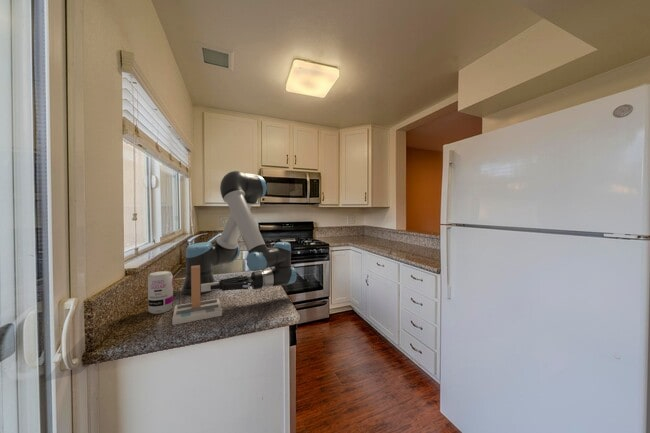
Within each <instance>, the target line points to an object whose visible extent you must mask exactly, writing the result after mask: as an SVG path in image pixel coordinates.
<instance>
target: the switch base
mask: <svg viewBox="0 0 650 433" xmlns="http://www.w3.org/2000/svg"><path fill="white" fill-rule="evenodd" d="M173 309H174V310H173V315H172V321H171V322H172V323H171V325H172V326H174V325H180V324H185V323H190V322H195V321H196V322H197V321H201V320H207V319H210V318H216V317H221V316H223V309H222V305H221V302H220V299H219V298H213V299H206V300H200V307H198V308H193V309H192V303H191V302H188V303H187V302H186V303H182V304H176V305H175V306H174V308H173Z"/></svg>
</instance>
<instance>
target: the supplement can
mask: <svg viewBox="0 0 650 433" xmlns="http://www.w3.org/2000/svg"><path fill="white" fill-rule="evenodd" d="M173 280H174V276H173V274H172V272H171V271H170V270H160V271H155V272H151V273H149V276H148V278H147V303H148V304H147V306H148V308H147V311H148V312H149V313H150V314H153V315H159V314H163V313H167V312H168V311H171V310H172V308H174V281H173Z"/></svg>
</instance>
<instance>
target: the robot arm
mask: <svg viewBox="0 0 650 433" xmlns="http://www.w3.org/2000/svg"><path fill="white" fill-rule="evenodd" d="M267 189H268V185H267V183H266V180H265V179H264V178H263V176H261V175H260V174H259V175H258V174H256V173H249V172H243V171H238V170H234V171H230V172H227V173H226V174H225V175H224V176H223V178H222V179H221V181H220V186H219V190H220V195H221V198H222V201H223V202H224V203H226V204H227V206H228V208H229V211H230V213H229V215H228V218H227V221H226V223H225V225H224V228H223V230H222V233H221V234H220V236H218V237H217V238H216V239H215V242H214V243H212V242H210V241H203V242H197V243H193V244H190V245H188V246H187V247H186V248H185V278H184V281H183V283H182V287H181V293H182V294H184V295H188V296H189V295H190V296H191V266H196V265H200V295H202V294H207V293H210V292H214V291H216V290H217V291H219V290H221V291H222V292H224V291H235V290H238V291H239V290H248V289H249V288H250V287H251V288H252V289H253V290H254V291H255V290H260V289H262V288H263V289H270V288H271V287H272V288H273V287H279V286H288V285H291V284H295V282H296V281H297V270H296V268H295V267H294V266H292V246H291V245H292V244H291V243H290V242H287V241H281V242H280V241H278V242H276V243H275V242H274V245H273V248H268V246H267V245H266V243H265V240H264V238H263V235H262V234H261V232H260V229H259V227H258V224H257V223H256V220H255V218H254V216H253V214H252V211H251V209H252V206H254V205H256V204H257V203H258V199H261V198H264V196H265V195H266V194H267ZM240 235H241V239H242V241H243V242H244V245H245V247H246V249H247V252H248V254H247V256H246V258H245V259H246V260H245V261H246V266H247V268H248V269H249V270H250V271H252V272H251V275H250V276H247V275H245V276H243V275H241V274H240V275H238V276H233V277H229V278H224V279H220V280H219V281H216V280H215V277H214V274H213V267H215V266H216V267H217V266H222V265H225V264H231V263H233V262H235V261H237V259H238V258H239V256H240V254H241V253H240V245H239V242H238V240H239V237H240ZM271 267H274V268H272V269H268V268H271Z"/></svg>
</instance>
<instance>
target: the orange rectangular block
mask: <svg viewBox="0 0 650 433" xmlns="http://www.w3.org/2000/svg"><path fill="white" fill-rule="evenodd" d="M190 298H191V299H190V300H191V302H190V303H192V309H193V308H198V307H200V301H201V294H200V265H196V266H191V295H190Z"/></svg>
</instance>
